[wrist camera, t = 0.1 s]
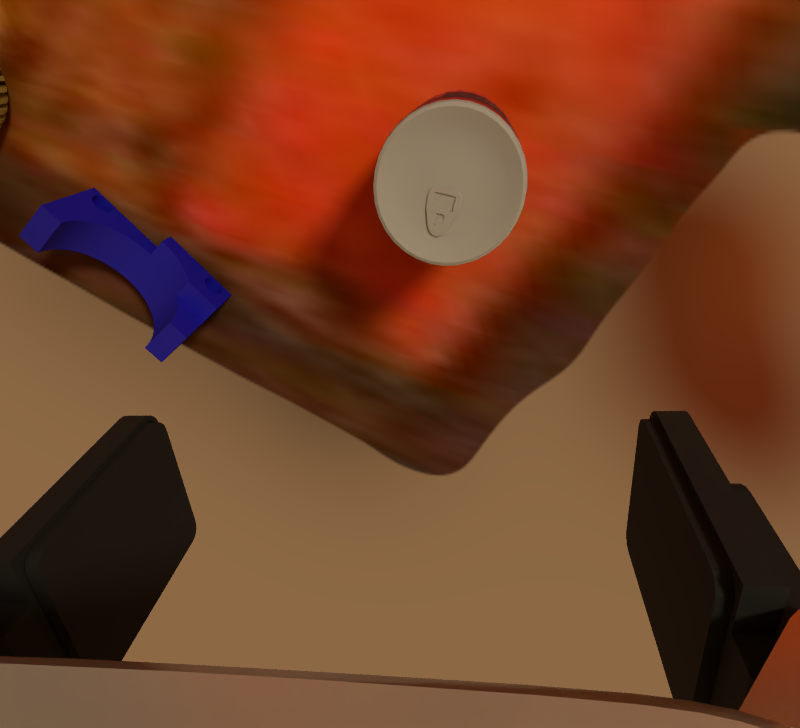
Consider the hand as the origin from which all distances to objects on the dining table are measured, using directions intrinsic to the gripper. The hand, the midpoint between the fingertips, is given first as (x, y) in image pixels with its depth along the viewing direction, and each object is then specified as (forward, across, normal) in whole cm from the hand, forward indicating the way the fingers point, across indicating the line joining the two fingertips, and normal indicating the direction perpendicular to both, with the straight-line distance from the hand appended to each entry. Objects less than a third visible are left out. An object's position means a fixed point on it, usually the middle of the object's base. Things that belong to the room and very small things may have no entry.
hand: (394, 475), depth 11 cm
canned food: (+31, 0, -2) cm, 31 cm away
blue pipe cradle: (+32, +23, +4) cm, 39 cm away
